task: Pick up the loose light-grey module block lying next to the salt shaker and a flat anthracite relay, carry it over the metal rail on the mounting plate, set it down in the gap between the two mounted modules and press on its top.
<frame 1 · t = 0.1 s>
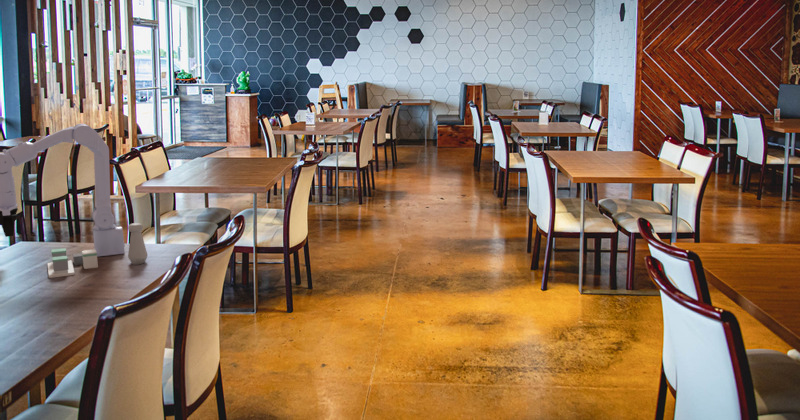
hand: (9, 233, 214), 10 cm above the table, tool pointing down, fingers open, 7 cm apart
module: (90, 266, 214), on the table
salt shaker: (138, 263, 218), on the table
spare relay: (84, 263, 219), on the table
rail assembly: (60, 269, 210), on the table
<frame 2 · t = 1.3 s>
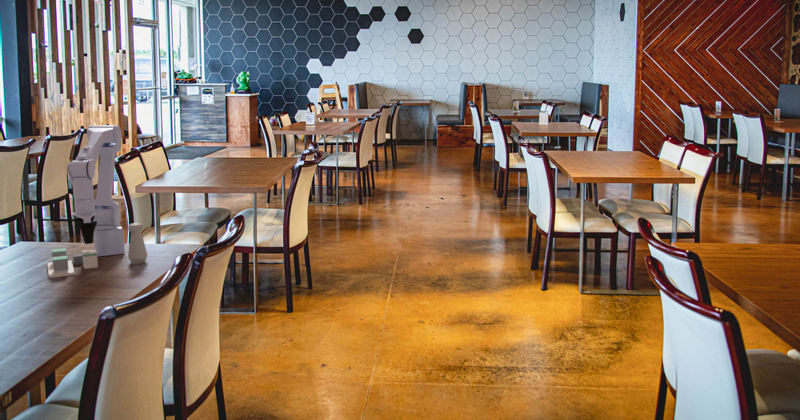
hand: (87, 240, 212), 8 cm above the table, tool pointing down, fingers open, 7 cm apart
nothing on the table moved.
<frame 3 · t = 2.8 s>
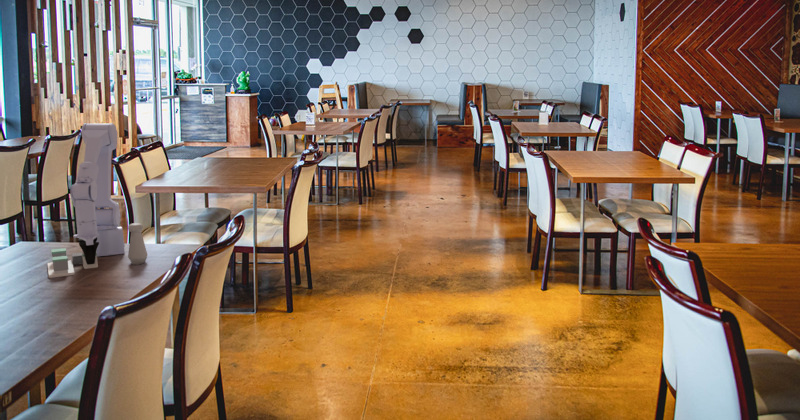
hand: (90, 262, 214), 1 cm above the table, tool pointing down, fingers closed on module, 4 cm apart
module: (90, 266, 214), on the table, touching gripper
everything else where it was.
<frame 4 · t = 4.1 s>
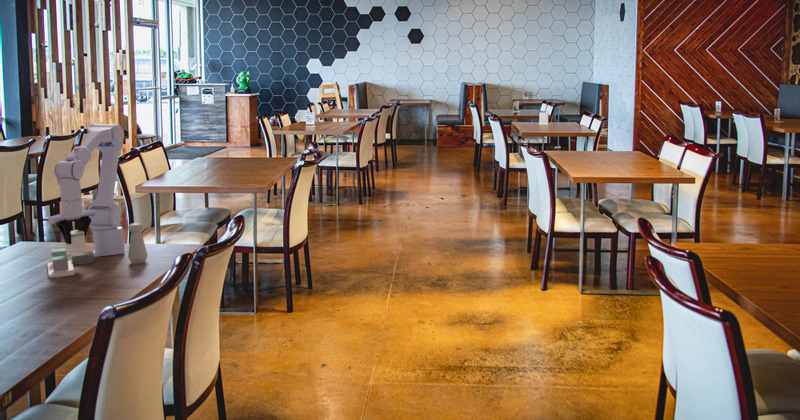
hand: (75, 242, 211), 8 cm above the table, tool pointing down, fingers closed on module, 4 cm apart
module: (76, 247, 211), point 7 cm above the table, touching gripper
everything else where it was.
when the fingers open (4 cm above the table, at t = 5.7 s): module stays where it is, resting on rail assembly.
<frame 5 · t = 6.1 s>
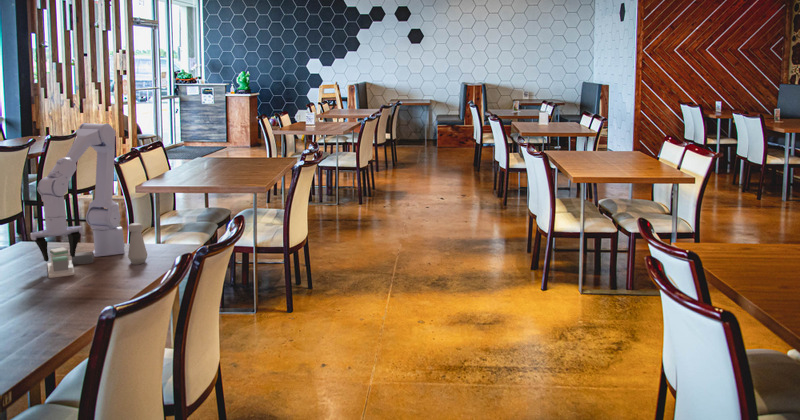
hand: (59, 258, 209), 4 cm above the table, tool pointing down, fingers open, 7 cm apart
module: (60, 265, 210), point 2 cm above the table, touching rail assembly
everything else where it was.
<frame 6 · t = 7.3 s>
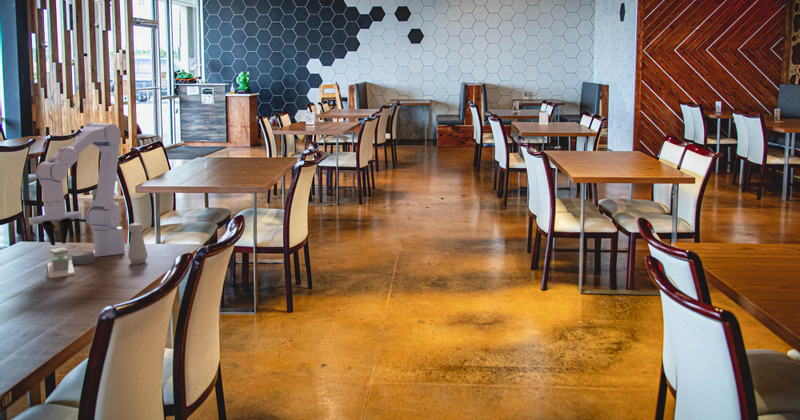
hand: (58, 243, 208), 8 cm above the table, tool pointing down, fingers closed
nothing on the table moved.
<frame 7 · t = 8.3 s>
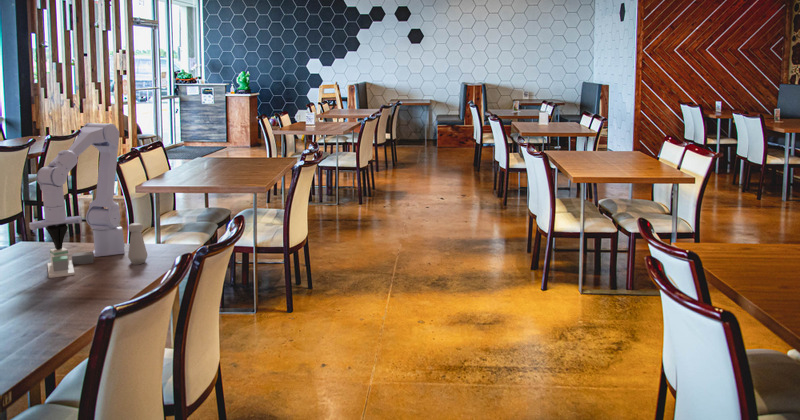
hand: (58, 248, 209), 7 cm above the table, tool pointing down, fingers closed
nothing on the table moved.
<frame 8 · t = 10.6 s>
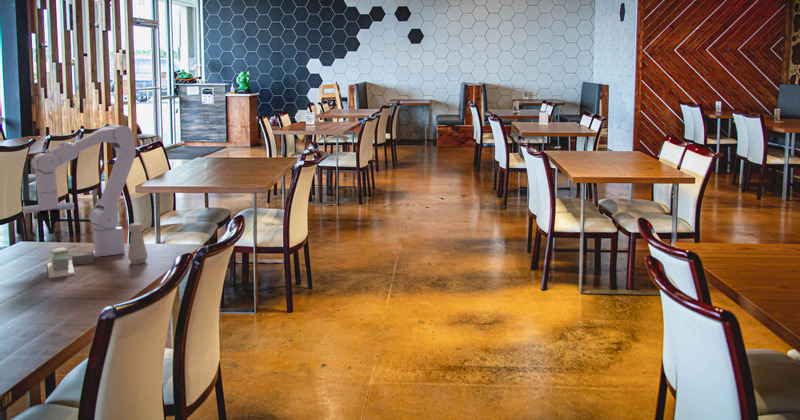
hand: (51, 233, 216), 10 cm above the table, tool pointing down, fingers closed
nothing on the table moved.
at the end: module 0.0 cm off-centre on the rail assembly, point 1.6 cm above the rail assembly's base; module tilted 0°; the gripper is holding nothing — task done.
